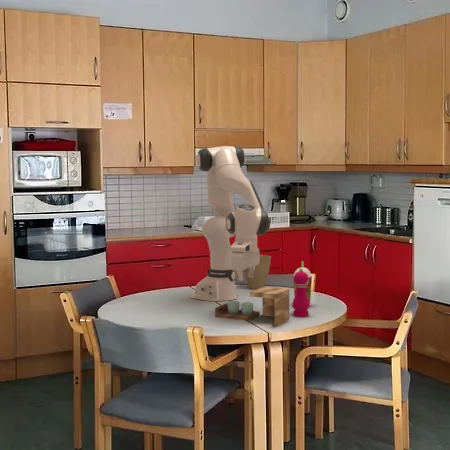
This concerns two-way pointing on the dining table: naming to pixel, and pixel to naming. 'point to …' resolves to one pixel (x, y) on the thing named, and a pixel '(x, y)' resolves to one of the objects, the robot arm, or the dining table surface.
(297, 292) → the pepper mill
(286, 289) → the counter cubby
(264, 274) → the plant pot
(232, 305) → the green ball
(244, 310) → the pale green rounded cylinder
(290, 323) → the dining table surface
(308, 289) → the smoothie
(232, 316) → the tray
